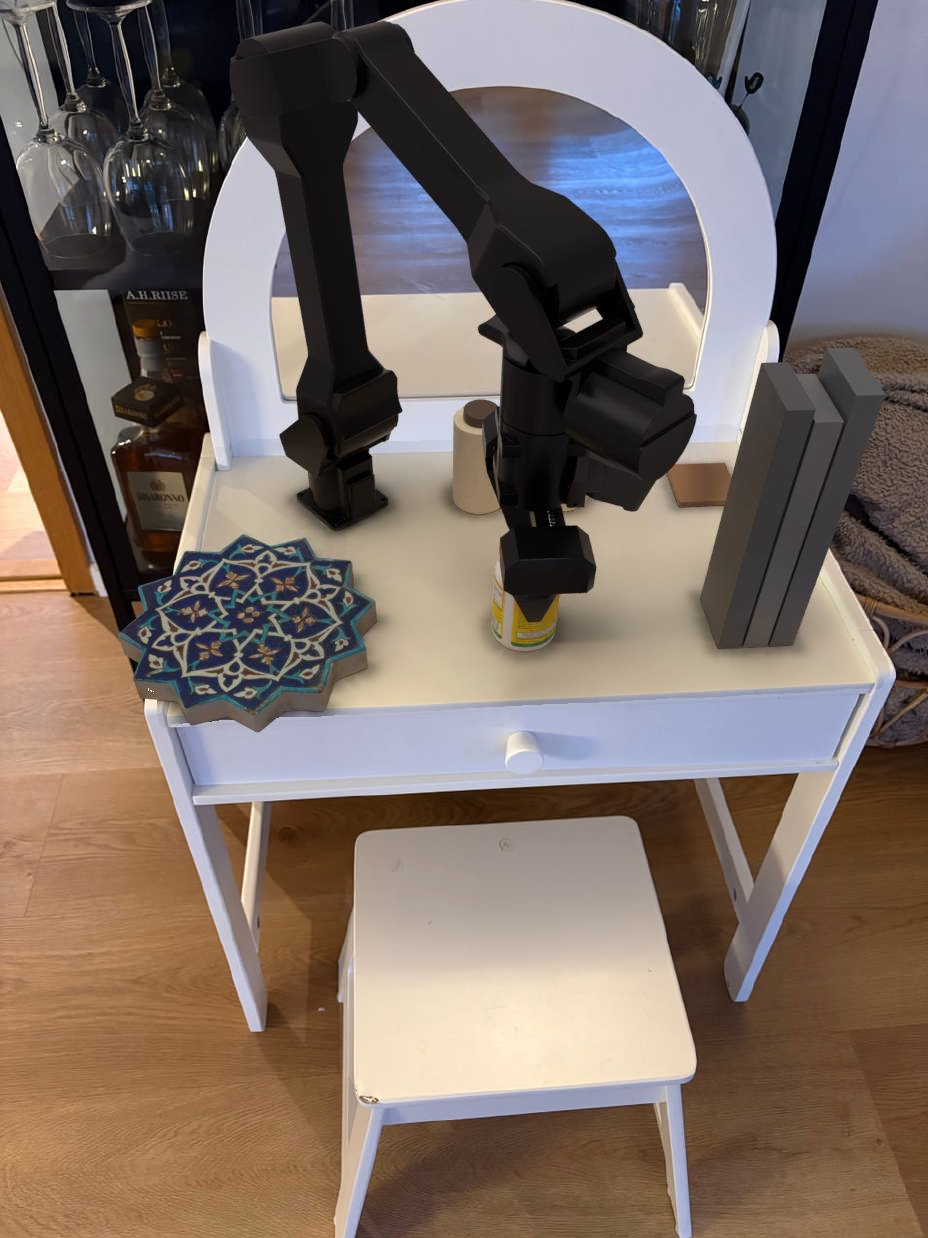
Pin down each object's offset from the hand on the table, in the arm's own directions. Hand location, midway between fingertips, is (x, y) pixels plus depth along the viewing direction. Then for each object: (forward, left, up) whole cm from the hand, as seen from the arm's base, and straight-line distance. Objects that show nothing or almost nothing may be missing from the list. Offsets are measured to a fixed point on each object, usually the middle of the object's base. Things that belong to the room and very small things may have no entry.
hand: (527, 579), depth 78 cm
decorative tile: (-14, -18, -6) cm, 23 cm away
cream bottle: (-16, +9, -6) cm, 19 cm away
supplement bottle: (0, 0, -6) cm, 6 cm away
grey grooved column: (+11, +15, -6) cm, 20 cm away
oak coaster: (-3, +27, -6) cm, 28 cm away
